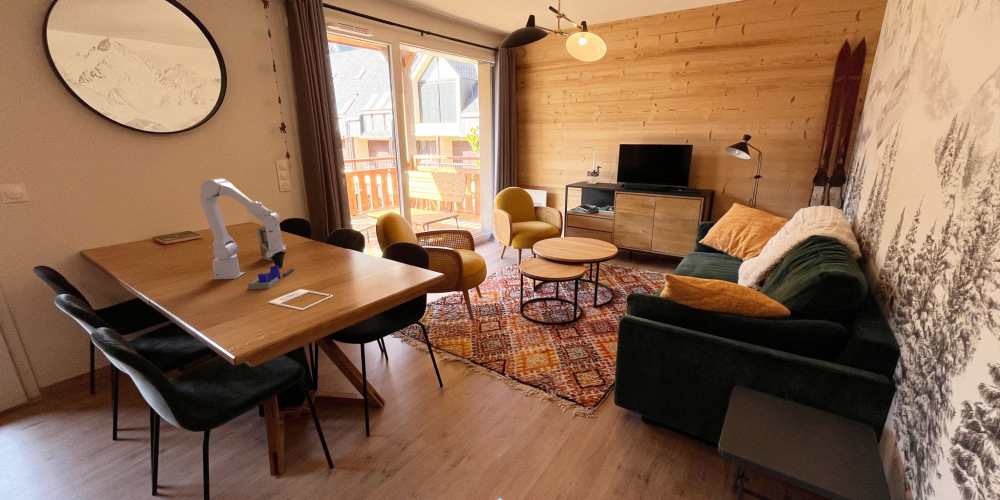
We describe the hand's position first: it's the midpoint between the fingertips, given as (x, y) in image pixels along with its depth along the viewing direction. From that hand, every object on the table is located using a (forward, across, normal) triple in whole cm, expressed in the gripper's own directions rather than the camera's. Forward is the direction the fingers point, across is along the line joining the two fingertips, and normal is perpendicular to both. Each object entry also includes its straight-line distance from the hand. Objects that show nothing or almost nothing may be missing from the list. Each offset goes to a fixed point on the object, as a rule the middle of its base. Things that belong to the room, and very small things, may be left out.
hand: (279, 267), depth 185 cm
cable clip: (+3, -12, -1) cm, 12 cm away
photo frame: (+4, -32, -23) cm, 40 cm away
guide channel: (+3, 0, 0) cm, 3 cm away
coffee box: (+3, +26, +17) cm, 31 cm away
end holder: (+3, -15, 0) cm, 15 cm away
